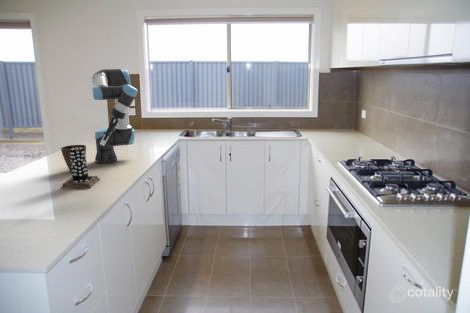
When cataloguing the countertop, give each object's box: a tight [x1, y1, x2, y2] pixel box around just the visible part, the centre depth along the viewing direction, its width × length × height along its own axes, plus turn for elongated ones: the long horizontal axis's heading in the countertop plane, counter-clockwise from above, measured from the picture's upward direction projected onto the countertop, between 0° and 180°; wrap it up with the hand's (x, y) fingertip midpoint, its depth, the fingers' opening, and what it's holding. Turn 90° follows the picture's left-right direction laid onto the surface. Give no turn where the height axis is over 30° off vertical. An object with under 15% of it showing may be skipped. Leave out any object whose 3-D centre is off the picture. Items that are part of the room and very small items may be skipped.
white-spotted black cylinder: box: [69, 147, 89, 183], centre depth 203 cm, size 8×8×20 cm
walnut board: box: [60, 175, 101, 190], centre depth 205 cm, size 16×16×3 cm
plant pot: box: [60, 144, 87, 173], centre depth 231 cm, size 15×15×16 cm
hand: (103, 142), depth 207 cm, fingers open, 13 cm apart
